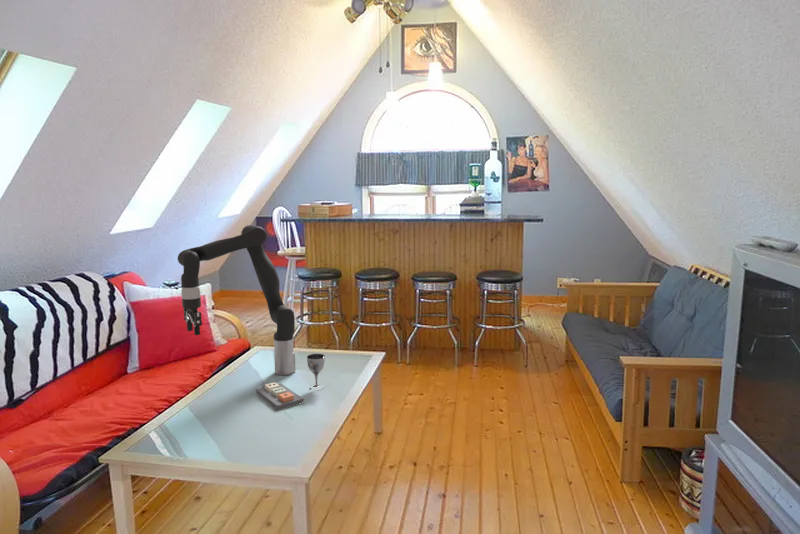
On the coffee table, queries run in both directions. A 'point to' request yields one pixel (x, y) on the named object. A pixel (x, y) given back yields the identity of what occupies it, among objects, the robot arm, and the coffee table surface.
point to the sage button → (278, 391)
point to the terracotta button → (286, 397)
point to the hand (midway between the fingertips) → (193, 332)
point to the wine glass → (316, 364)
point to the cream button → (271, 386)
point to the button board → (275, 400)
